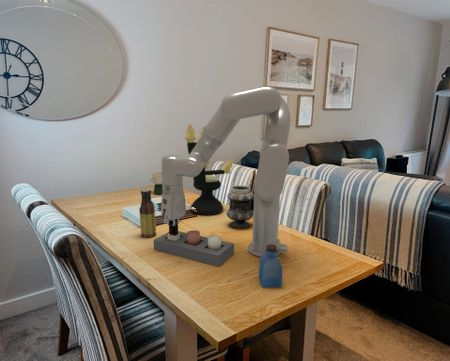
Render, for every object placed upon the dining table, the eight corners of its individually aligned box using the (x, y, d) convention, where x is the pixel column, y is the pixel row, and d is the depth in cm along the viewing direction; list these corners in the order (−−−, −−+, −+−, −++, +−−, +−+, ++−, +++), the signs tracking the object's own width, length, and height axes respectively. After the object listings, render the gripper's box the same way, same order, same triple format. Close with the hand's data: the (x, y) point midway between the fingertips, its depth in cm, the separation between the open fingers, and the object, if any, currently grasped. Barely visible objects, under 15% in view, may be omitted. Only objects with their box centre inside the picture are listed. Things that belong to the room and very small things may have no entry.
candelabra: (232, 211, 177) (234, 123, 167) (201, 221, 161) (201, 124, 151) (207, 203, 190) (207, 121, 180) (176, 212, 174) (174, 122, 164)
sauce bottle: (149, 231, 148) (148, 186, 144) (159, 235, 144) (158, 189, 140) (137, 235, 143) (135, 189, 139) (146, 239, 139) (145, 192, 135)
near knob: (223, 248, 125) (223, 236, 124) (217, 253, 121) (217, 241, 120) (212, 246, 127) (212, 234, 126) (205, 250, 123) (205, 238, 122)
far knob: (182, 245, 134) (182, 233, 133) (175, 249, 130) (175, 237, 129) (172, 242, 136) (172, 231, 135) (165, 247, 132) (164, 235, 131)
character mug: (165, 191, 214) (165, 171, 211) (169, 194, 208) (169, 173, 205) (148, 193, 209) (147, 172, 206) (152, 196, 203) (151, 174, 200)
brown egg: (202, 243, 129) (202, 231, 128) (195, 248, 125) (195, 236, 124) (191, 241, 131) (191, 229, 130) (184, 245, 127) (184, 233, 126)
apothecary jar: (256, 223, 159) (258, 186, 155) (246, 232, 149) (247, 192, 145) (233, 219, 165) (234, 183, 161) (221, 227, 154) (222, 188, 150)
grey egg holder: (234, 253, 128) (234, 243, 127) (218, 266, 117) (218, 255, 116) (172, 238, 140) (172, 229, 139) (153, 249, 130) (153, 239, 129)
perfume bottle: (277, 277, 111) (279, 242, 108) (281, 287, 105) (283, 250, 102) (258, 277, 111) (260, 242, 108) (261, 287, 105) (262, 250, 102)
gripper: (168, 194, 120) (169, 243, 124) (192, 185, 132) (192, 230, 137) (151, 191, 123) (153, 239, 127) (176, 183, 136) (177, 226, 140)
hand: (173, 234), depth 132 cm, fingers closed
